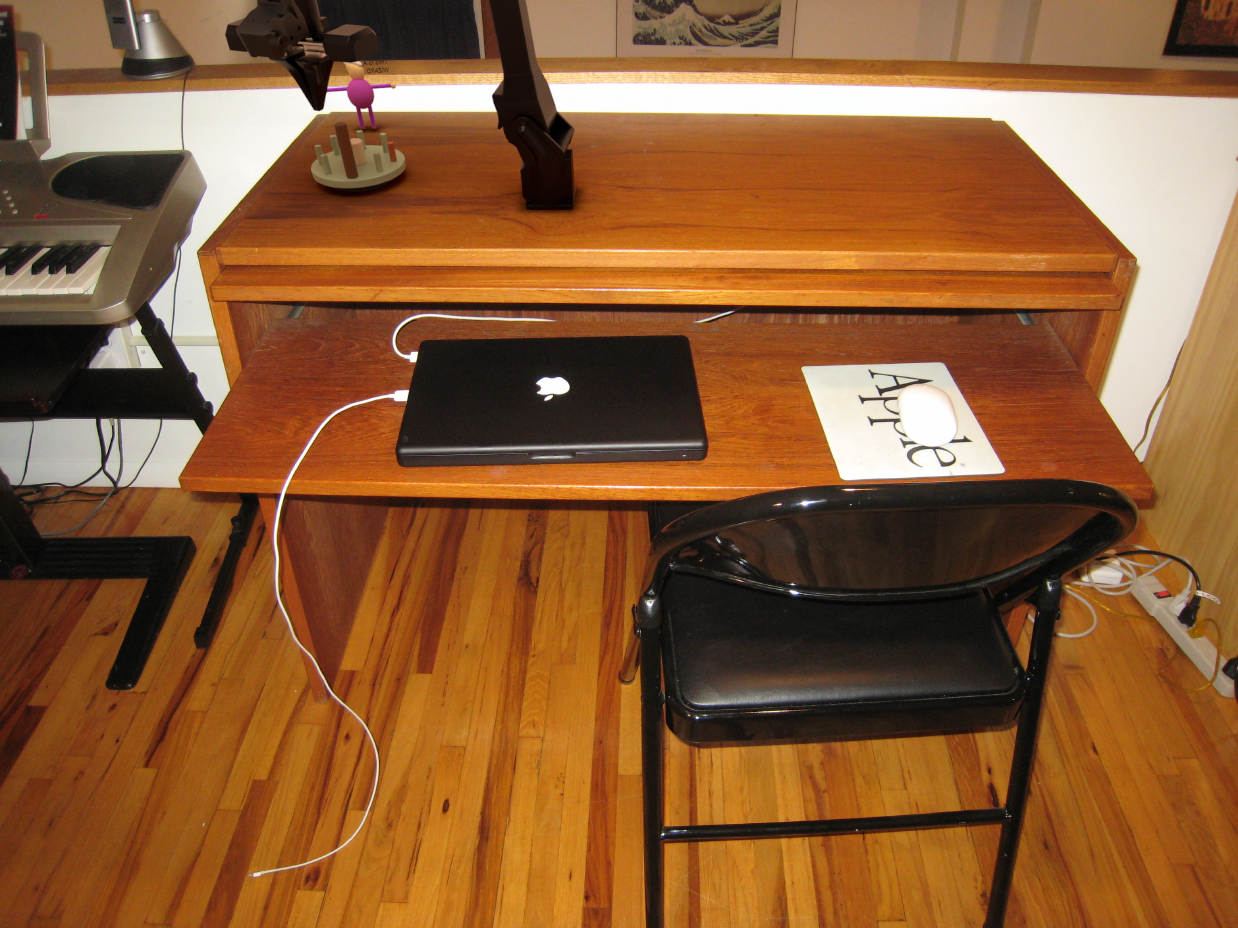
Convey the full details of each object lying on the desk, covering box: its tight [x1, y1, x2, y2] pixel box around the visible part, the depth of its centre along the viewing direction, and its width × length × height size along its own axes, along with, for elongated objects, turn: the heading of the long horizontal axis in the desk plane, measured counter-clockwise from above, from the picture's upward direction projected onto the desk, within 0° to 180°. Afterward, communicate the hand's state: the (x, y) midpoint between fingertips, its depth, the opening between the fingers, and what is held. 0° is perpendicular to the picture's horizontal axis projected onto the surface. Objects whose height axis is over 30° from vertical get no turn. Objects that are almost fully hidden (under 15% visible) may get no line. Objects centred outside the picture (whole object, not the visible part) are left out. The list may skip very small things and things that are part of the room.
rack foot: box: [332, 179, 393, 193], centre depth 117 cm, size 9×9×1 cm
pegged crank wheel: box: [310, 121, 407, 189], centre depth 114 cm, size 13×13×8 cm
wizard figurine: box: [327, 58, 397, 131], centre depth 128 cm, size 11×3×12 cm, turn 99°
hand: (318, 110), depth 107 cm, fingers closed
